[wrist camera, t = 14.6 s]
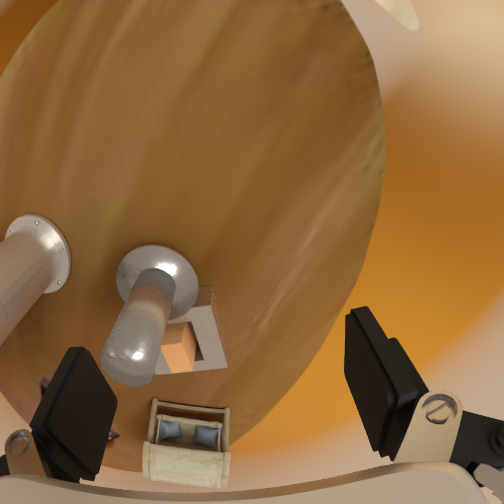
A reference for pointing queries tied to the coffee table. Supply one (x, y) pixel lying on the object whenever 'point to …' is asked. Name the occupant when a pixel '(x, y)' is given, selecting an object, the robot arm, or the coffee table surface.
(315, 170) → the coffee table surface
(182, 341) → the orange rectangular block
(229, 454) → the swing bench
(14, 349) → the coffee table surface
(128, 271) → the bracket head
